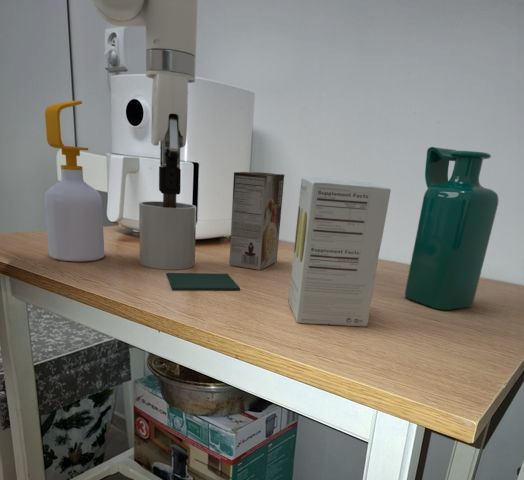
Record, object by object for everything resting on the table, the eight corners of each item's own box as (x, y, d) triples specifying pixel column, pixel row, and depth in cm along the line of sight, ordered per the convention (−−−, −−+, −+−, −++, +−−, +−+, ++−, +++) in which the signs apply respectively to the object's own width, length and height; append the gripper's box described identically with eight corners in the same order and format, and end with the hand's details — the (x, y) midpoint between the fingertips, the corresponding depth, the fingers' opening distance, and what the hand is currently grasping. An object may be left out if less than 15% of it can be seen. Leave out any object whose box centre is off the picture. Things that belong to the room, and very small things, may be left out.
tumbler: (141, 269, 80) (140, 206, 76) (138, 257, 88) (137, 200, 84) (198, 270, 83) (200, 209, 79) (190, 258, 91) (191, 203, 87)
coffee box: (247, 257, 96) (252, 171, 90) (277, 262, 94) (285, 174, 88) (227, 265, 88) (233, 171, 82) (261, 270, 86) (268, 174, 80)
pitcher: (478, 307, 74) (517, 152, 66) (442, 312, 70) (479, 148, 62) (427, 290, 82) (457, 150, 74) (392, 294, 78) (419, 145, 69)
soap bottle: (114, 259, 85) (109, 103, 76) (64, 264, 79) (52, 94, 70) (88, 249, 91) (80, 103, 81) (39, 254, 84) (25, 95, 75)
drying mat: (172, 290, 70) (172, 287, 69) (166, 275, 78) (166, 272, 77) (240, 290, 72) (240, 288, 72) (227, 275, 80) (227, 273, 80)
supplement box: (286, 301, 69) (299, 176, 62) (350, 305, 70) (369, 181, 63) (296, 324, 60) (312, 180, 54) (368, 327, 61) (393, 186, 55)
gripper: (143, 71, 81) (144, 187, 88) (149, 56, 67) (149, 196, 74) (188, 77, 83) (185, 190, 90) (203, 64, 69) (198, 199, 76)
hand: (169, 192), depth 82 cm, fingers closed
